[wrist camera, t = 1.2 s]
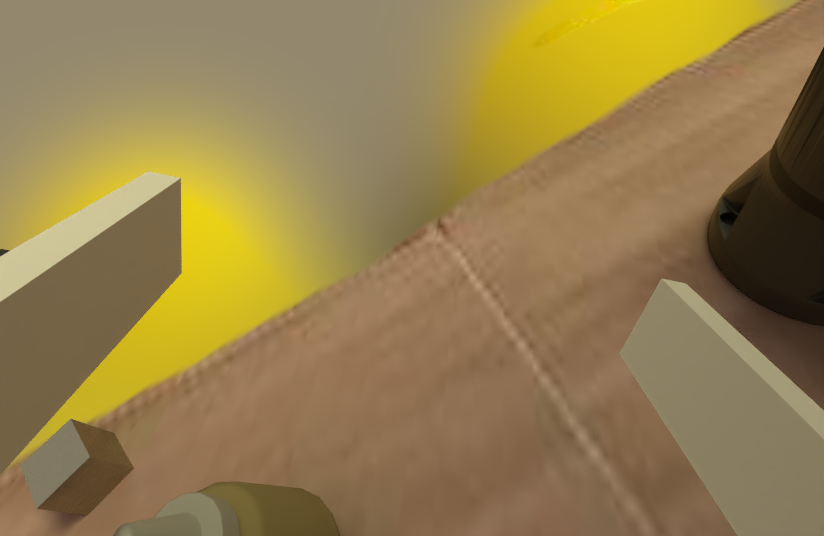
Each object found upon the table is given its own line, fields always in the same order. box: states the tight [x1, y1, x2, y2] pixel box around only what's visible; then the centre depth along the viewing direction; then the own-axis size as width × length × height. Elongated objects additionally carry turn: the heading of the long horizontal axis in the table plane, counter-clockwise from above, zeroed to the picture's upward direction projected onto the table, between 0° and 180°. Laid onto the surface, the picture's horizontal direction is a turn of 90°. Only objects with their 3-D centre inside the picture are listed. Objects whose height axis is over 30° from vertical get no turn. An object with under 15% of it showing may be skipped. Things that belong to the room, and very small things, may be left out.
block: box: [20, 419, 134, 515], centre depth 40 cm, size 5×5×5 cm
